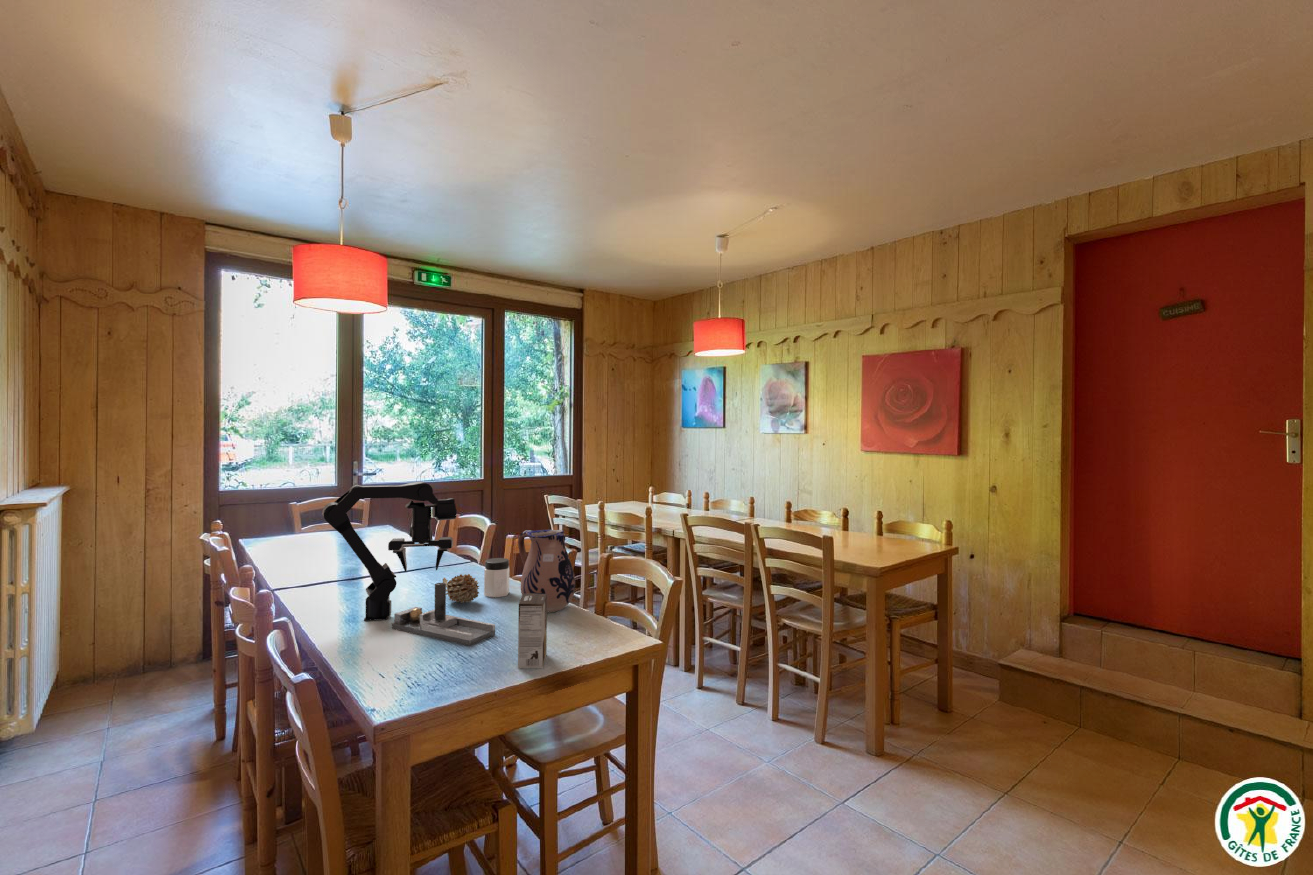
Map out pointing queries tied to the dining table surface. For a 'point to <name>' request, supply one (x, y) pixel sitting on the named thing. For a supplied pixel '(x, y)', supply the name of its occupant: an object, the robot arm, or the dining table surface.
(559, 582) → the ceramic pitcher
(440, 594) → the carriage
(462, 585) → the pine cone
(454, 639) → the base
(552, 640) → the dining table surface
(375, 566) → the robot arm
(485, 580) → the jar
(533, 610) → the coffee box
